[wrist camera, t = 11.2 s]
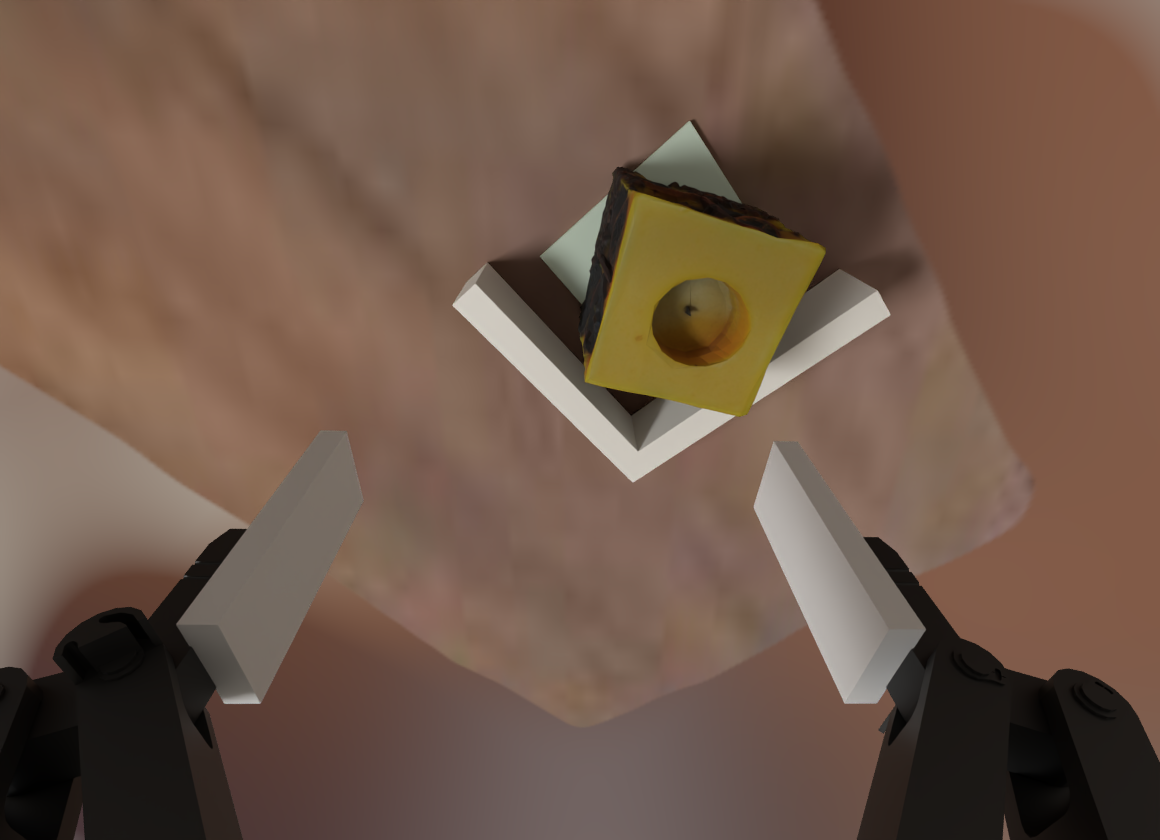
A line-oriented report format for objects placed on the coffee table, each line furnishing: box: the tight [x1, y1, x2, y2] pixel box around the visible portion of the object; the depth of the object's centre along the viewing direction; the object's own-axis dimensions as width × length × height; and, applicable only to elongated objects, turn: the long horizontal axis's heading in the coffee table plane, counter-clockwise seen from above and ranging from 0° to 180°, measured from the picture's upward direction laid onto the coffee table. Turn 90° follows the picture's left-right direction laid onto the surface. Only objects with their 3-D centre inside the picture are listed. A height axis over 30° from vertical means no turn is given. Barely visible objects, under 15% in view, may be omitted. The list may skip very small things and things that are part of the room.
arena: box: [453, 262, 891, 482], centre depth 33 cm, size 18×20×5 cm
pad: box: [540, 121, 742, 304], centre depth 34 cm, size 12×12×1 cm
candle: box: [578, 167, 826, 417], centre depth 30 cm, size 10×10×10 cm
